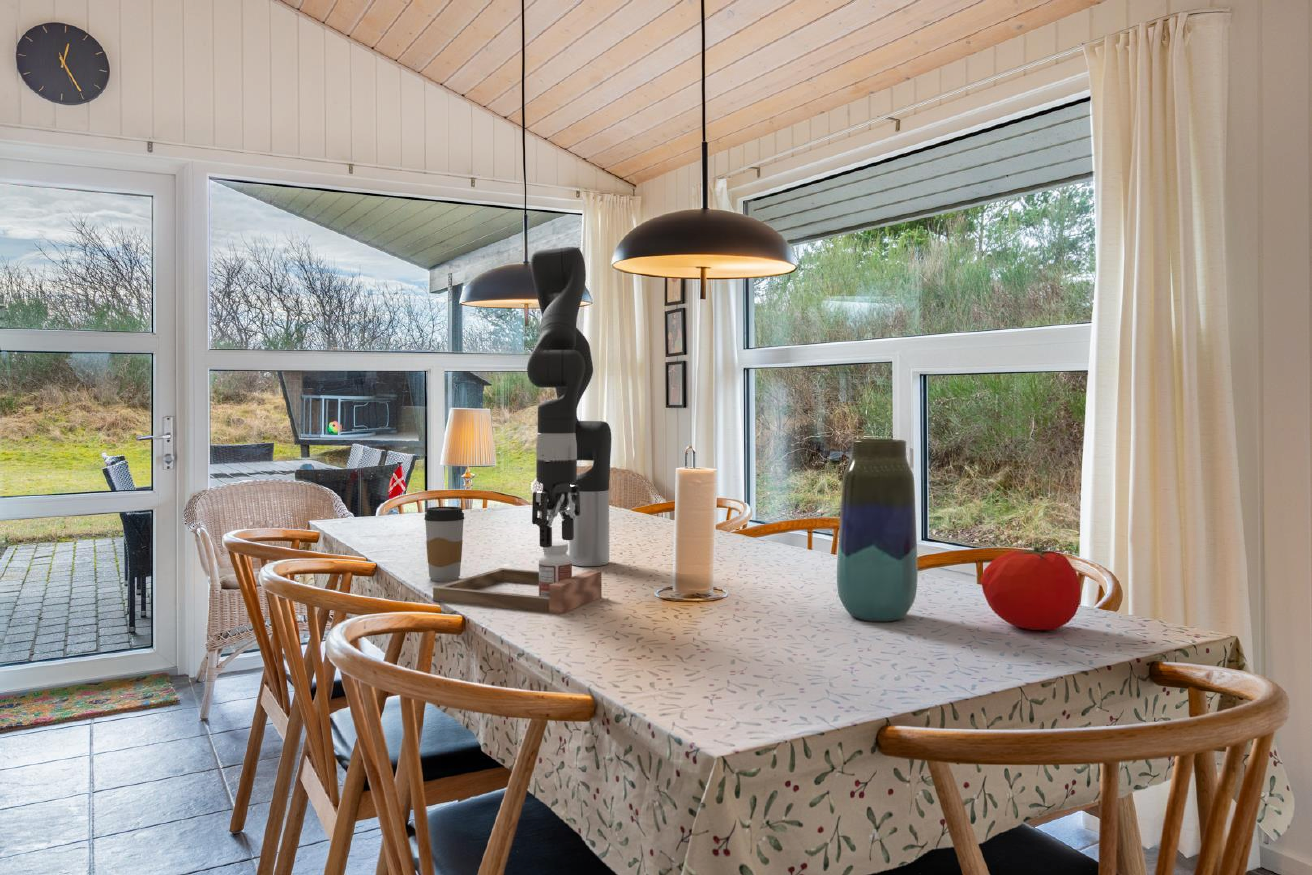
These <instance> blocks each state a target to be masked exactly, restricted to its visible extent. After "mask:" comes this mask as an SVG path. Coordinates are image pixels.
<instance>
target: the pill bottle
mask: <svg viewBox="0 0 1312 875" xmlns="http://www.w3.org/2000/svg"><path fill="white" fill-rule="evenodd" d="M568 550H569V544H568V542H564V541H552V546H551V547H548V548H547V547H542V552H543V555H540V557H539V559H538V571H539V584H538V596H542V597H549V585H550V584H553V583H556V582H558V581H561V580H564V579H567V578H570V577H573V565H572V560H571V557H570V556H569V554H567V552H568Z"/></svg>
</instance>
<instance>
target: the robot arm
mask: <svg viewBox="0 0 1312 875" xmlns="http://www.w3.org/2000/svg"><path fill="white" fill-rule="evenodd" d="M530 270H531V271H530V272H531V277H532V281H533V286H534V291H535V294H536V297H537V302H538V304H539V305H538V306H539V309H540V310H539V311H540V314H541V319H540V324H539V337H538V340H537V343H536V345H535V346H534V347H533V350H532V352H531V353H530V356H529V358H528V361H527V366H526V372H527V378H528V380H529V381H530V383H531V384H532V385H533V386H535V387H537V388H545V389H546V388H547V389H548V388H549V389H553V388H555V392H556V398H554V399H550V400H546V401H542V402H540V403H539V404H538V407H537V437H536V438H537V439H536V446H535V447H536V449H535V450H536V452H535V453H536V454H535V456H536V468H535V469H536V481H537V483H539V484H542V489H541V491H538V490H537V491H533V492H532V508H531V523H532V525H536V526H538V528H539V547H541V548H543V547H547V548H548V547H551V546H552V542H553V527H552V525H553V522H554V519H555V518H556V517H557V516H558V514H559V515H560V517H561V519H562V520H561V539H562V540H563V541H569V544H568V550H569V554H568V555H569V556H570V557H571V560H572V566H576V567H577V566H578V567H579V566H580V567H597V566H605V565H608V564H609V563H610V479H611V478H610V477H611V457H612V455H611V453H612V429H611V427H610V425H609V423H608V422H607V421H602V420H601V421H599V420H579V418H578V415H577V414H578V413H577V412H578V411H577V410H578V406H579V404H580V401H581V399H582V398H583V395H584V393H585V391H586V390H587V388H588V386H589V384H590V382H591V380H592V377H593V374H594V365H593V359H592V353H591V352H592V351H591V346H590V343H589V341H588V339H587V338H586V337H585V335H584V334H583V333H582V332H581V331H580V329H579V328H578V327H577V324H578V316H579V312H580V311H579V310H580V306H581V303H582V299H583V295H584V291H585V287H586V279H587V278H586V277H587V276H586V275H587V273H586V272H587V271H586V270H587V269H586V262H585V259H584V255H583V253H582V251H581V250H580V249H579V248H578V247H576V246H565V247H556V248H547V249H539V250H535V251H534V252H532V254H531V256H530ZM554 294H558V295H557V296H556V297H555V296H554ZM578 461H586V462H587V461H589V462H590V461H592V463H593V464H592V466H591V468H590V469H589V470H587V471H585V472H583V473H581V474H578ZM538 514H539V516H538Z"/></svg>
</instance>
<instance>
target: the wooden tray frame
mask: <svg viewBox="0 0 1312 875" xmlns="http://www.w3.org/2000/svg"><path fill="white" fill-rule="evenodd" d="M602 575H603V573H602V571H601V570H593V569H592V570H590V569H589V570H587V571H583V572H581V573H578V574H576V575H572V577H570V578H567V579H564V580H561V581H558V582H556V583H553V584H550V585H549V597H542V596H539V595H532V594H530V595H529V594H520V593H511V592H510V593H509V592H501V591H500V592H499V591H488V590H481V589H482V588H485V587H488V586H489V587H490V586H491V585H495V584H497V583H501V582H508V583H509V582H510V583H520V584H529V585H530V584H531V585H539V570H527V569H526V570H525V569H517V568H514V569H513V568H506V567H505V568H502V567H500V568H497V569H493V570H489V571H487V572H483V573H479V574H475V575H472V576H470V577H465V578H462V579H457V580H454V581H450V582H449V583H448V582H447V583H444V584H441V585H438V586H434V587H432V601H437V602H444V603H445V602H446V603H454V604H463V605H474V606H483V607H491V608H492V607H493V608H502V609H510V610H511V609H512V610H522V611H530V612H541V613H542V612H543V613H549V614H559V615H562V614H565V613H567V612H569V611H572V610H575V609H576V608H579V607H581V606H584V605H586V604H588V603H591V602H593V601H596V600H598V599H601V598H602V596H603V595H602V593H603V592H602V588H603V587H602V584H603V583H602V582H603V581H602V577H603V576H602Z"/></svg>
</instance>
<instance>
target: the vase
mask: <svg viewBox="0 0 1312 875" xmlns="http://www.w3.org/2000/svg"><path fill="white" fill-rule="evenodd" d="M850 454H851V455H850V456H851V457H850V459H849V461H848V463H847V465H846V468H845V470H844V473H843V476H842V477H843V478H842V484H841V485H842V487H841V499H840V516H839V532H838V544H837V560H836V561H837V563H836V565H837V566H836V585H837V594H838V597H839V600H840V602H841V604H842V606H843V608H844V609H845V610H846V612H848V614H849V615H850V616H852V617H854V618H856V619H857V620H861V621H862V620H863V621H869V622H878V623H879V622H881V623H882V622H893V621H898V620H901V619H903V617H905V616H906V615H907V614H908V612H909V611H910V610H911V608H912V606H913V604H914V602H915V601H916V600H915V599H916V596H917V591H918V590H917V589H918V574H919V573H918V572H919V571H918V569H919V568H918V543H917V542H918V539H917V513H916V494H915V493H916V491H915V490H916V489H915V476H914V474H913V470H912V469H911V466H910V464H909V462H908V459H907V441H906V440H904V439H889V438H888V439H887V438H883V439H882V438H859V439H858V438H857V439H852V440H851V453H850Z"/></svg>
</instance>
